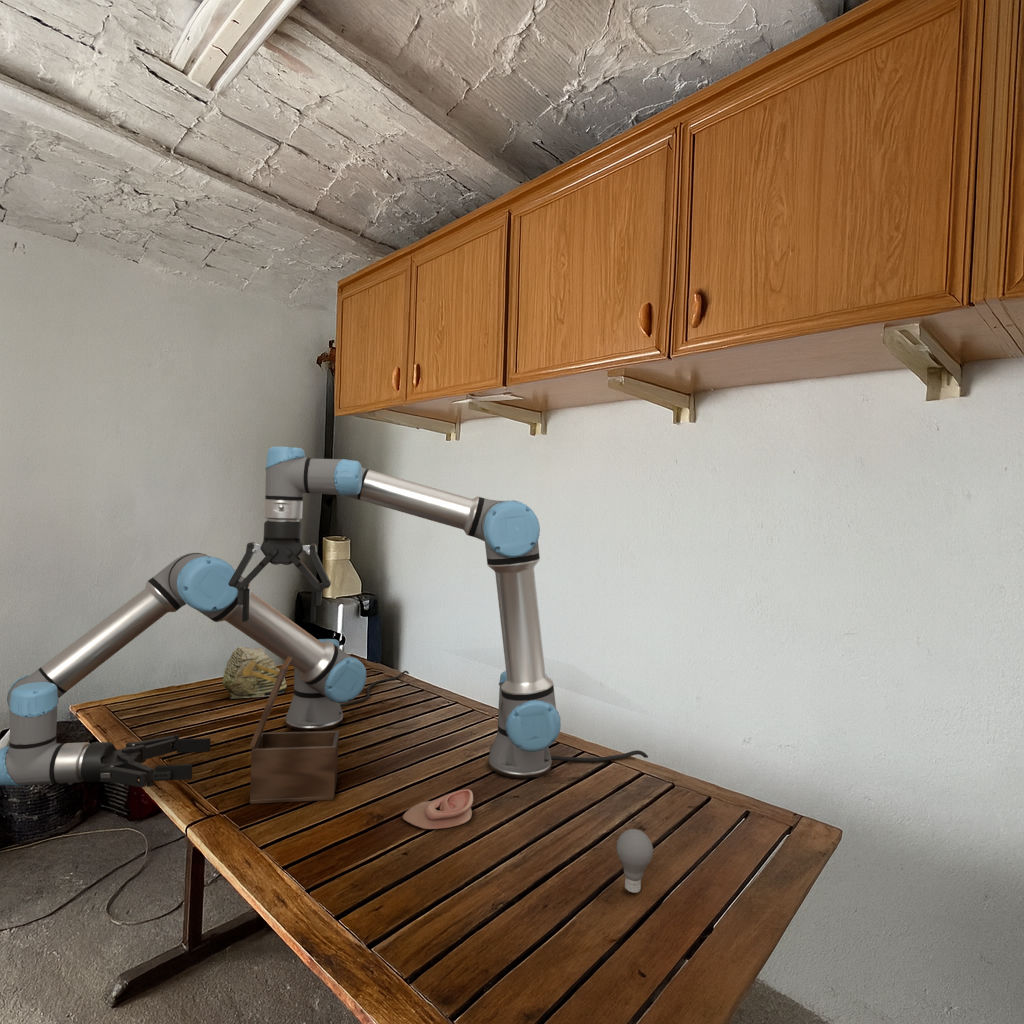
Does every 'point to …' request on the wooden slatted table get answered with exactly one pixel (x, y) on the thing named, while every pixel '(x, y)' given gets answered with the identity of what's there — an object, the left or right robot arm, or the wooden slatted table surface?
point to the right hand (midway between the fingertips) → (279, 620)
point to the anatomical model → (442, 811)
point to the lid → (278, 681)
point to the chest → (294, 767)
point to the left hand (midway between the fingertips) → (201, 757)
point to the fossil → (249, 684)
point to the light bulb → (634, 857)
